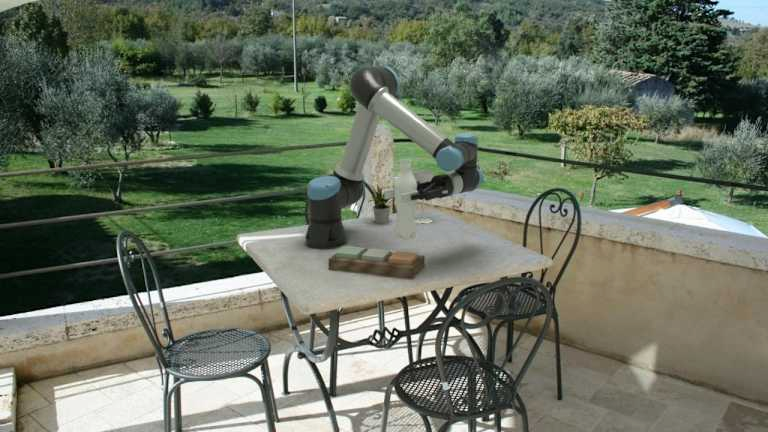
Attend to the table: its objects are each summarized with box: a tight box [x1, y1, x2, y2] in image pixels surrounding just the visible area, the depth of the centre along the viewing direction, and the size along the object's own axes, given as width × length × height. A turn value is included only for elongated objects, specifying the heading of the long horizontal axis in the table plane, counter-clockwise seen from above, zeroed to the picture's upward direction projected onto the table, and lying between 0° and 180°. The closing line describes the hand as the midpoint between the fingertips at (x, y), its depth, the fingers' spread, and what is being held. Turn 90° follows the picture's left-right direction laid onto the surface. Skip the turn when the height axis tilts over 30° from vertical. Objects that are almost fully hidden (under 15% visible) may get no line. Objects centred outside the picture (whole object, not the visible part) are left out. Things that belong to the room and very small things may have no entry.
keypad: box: [327, 249, 426, 280], centre depth 196 cm, size 28×12×4 cm, turn 69°
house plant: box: [366, 183, 394, 224], centre depth 247 cm, size 14×14×16 cm
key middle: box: [362, 248, 392, 262], centre depth 195 cm, size 7×7×3 cm
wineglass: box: [412, 169, 434, 224], centre depth 246 cm, size 8×9×20 cm
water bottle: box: [393, 157, 418, 241], centre depth 190 cm, size 7×7×25 cm
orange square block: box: [389, 250, 419, 265], centre depth 192 cm, size 7×7×3 cm
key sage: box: [335, 245, 366, 260], centre depth 199 cm, size 7×7×3 cm
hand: (393, 196), depth 187 cm, fingers closed on water bottle, 7 cm apart
